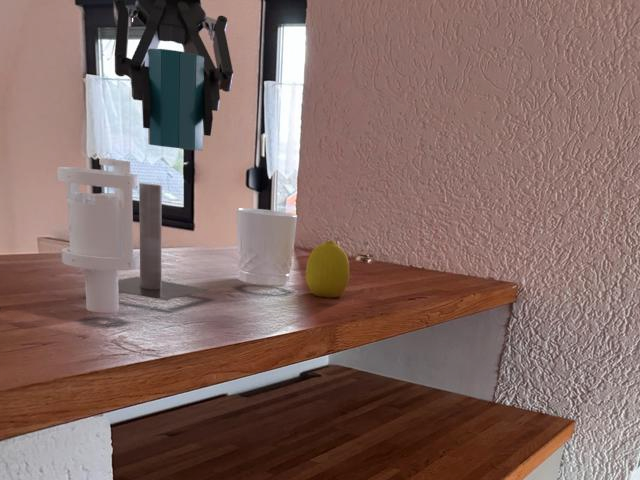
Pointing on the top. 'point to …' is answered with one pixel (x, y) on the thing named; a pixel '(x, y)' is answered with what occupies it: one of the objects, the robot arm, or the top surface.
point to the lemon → (327, 270)
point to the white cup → (265, 246)
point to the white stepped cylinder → (101, 230)
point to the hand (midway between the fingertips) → (178, 122)
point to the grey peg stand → (152, 251)
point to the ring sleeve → (176, 99)
